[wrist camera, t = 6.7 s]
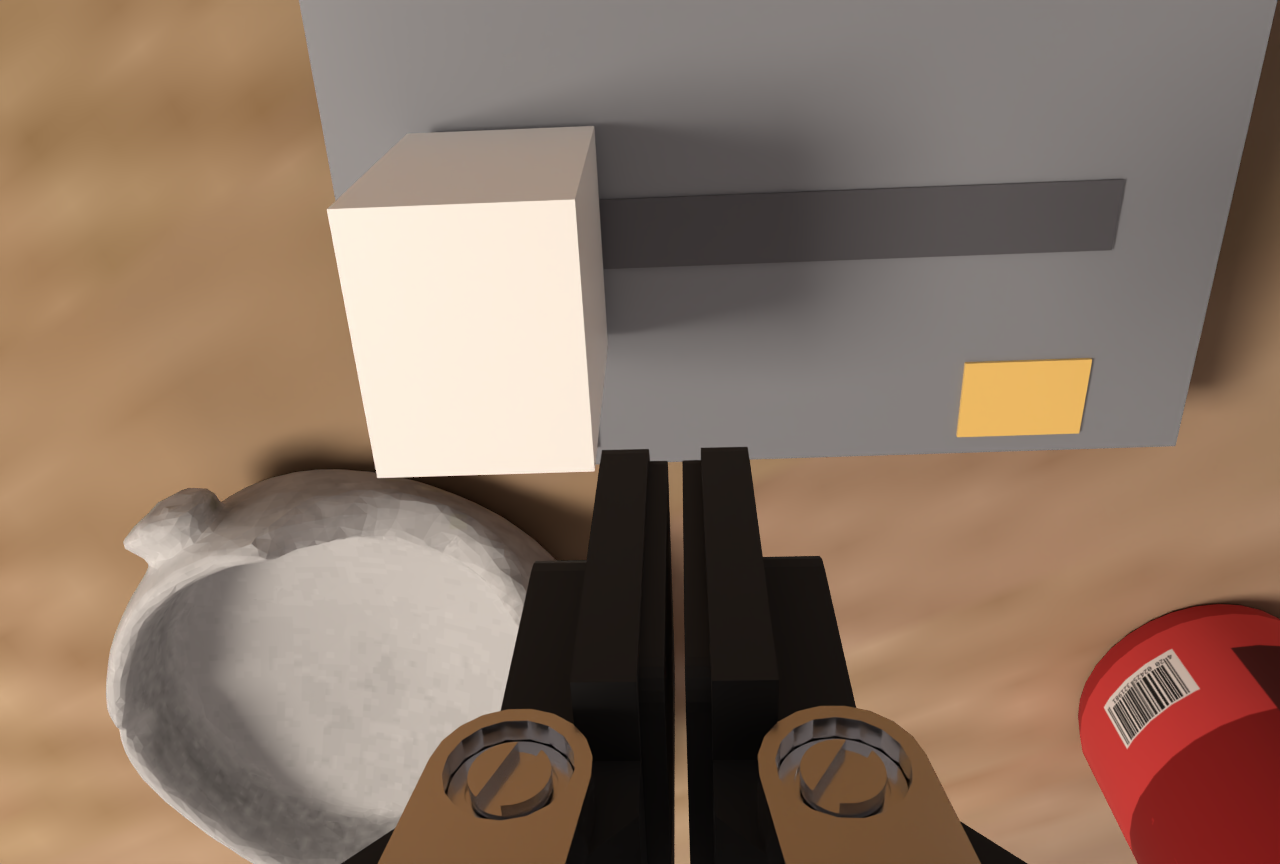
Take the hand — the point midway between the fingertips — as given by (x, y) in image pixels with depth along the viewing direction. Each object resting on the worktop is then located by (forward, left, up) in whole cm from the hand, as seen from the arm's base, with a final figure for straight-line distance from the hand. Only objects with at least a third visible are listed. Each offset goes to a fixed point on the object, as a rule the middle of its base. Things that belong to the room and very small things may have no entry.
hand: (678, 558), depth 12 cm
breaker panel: (-3, 0, -16) cm, 16 cm away
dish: (+9, +14, -16) cm, 23 cm away
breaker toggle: (+3, 0, -12) cm, 13 cm away
